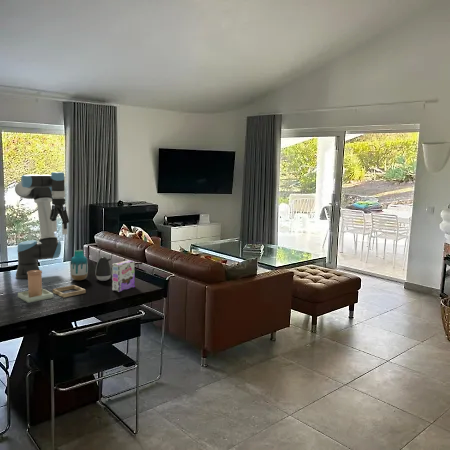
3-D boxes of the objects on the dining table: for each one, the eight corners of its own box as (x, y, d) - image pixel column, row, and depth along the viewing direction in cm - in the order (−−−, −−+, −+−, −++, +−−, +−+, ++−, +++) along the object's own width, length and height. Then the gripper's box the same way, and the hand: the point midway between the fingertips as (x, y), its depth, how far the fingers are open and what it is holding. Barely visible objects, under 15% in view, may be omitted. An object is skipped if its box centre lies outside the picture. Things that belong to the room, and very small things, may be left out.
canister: (25, 295, 253) (24, 271, 251) (39, 293, 258) (38, 269, 256) (31, 298, 247) (30, 274, 245) (45, 296, 253) (44, 271, 251)
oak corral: (52, 292, 263) (52, 289, 262) (74, 288, 272) (74, 284, 272) (63, 297, 253) (63, 294, 253) (85, 292, 263) (85, 289, 263)
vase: (78, 282, 283) (78, 253, 281) (67, 280, 289) (66, 251, 286) (91, 279, 293) (91, 250, 290) (79, 277, 298) (79, 248, 295)
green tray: (17, 297, 253) (17, 292, 252) (42, 292, 263) (42, 288, 262) (28, 302, 243) (28, 298, 243) (53, 297, 253) (53, 293, 253)
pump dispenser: (107, 282, 287) (107, 259, 284) (92, 281, 289) (92, 258, 287) (114, 278, 297) (114, 255, 294) (100, 277, 299) (99, 254, 296)
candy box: (118, 292, 266) (118, 265, 264) (111, 290, 269) (111, 263, 267) (135, 287, 278) (135, 260, 275) (128, 285, 281) (128, 259, 278)
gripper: (43, 196, 277) (44, 230, 279) (62, 199, 259) (63, 236, 262) (55, 196, 282) (56, 229, 285) (74, 199, 265) (75, 234, 268)
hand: (59, 232), depth 274 cm, fingers open, 13 cm apart
